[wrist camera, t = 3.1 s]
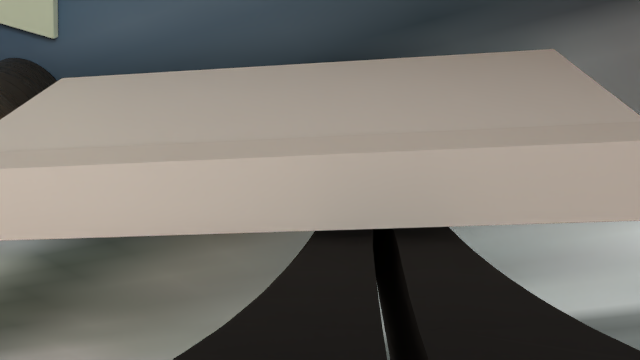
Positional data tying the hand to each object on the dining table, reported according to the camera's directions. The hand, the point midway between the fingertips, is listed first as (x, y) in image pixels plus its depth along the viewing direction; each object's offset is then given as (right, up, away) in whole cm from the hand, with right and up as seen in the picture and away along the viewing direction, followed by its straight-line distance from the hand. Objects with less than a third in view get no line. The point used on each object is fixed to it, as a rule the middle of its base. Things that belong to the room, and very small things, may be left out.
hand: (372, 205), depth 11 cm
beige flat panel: (-2, +3, 0) cm, 3 cm away
